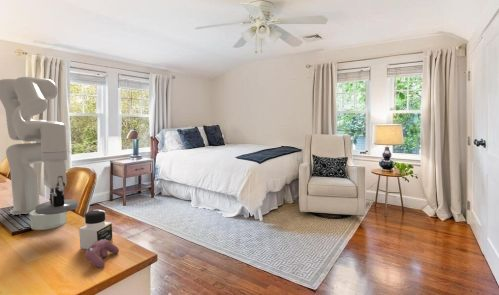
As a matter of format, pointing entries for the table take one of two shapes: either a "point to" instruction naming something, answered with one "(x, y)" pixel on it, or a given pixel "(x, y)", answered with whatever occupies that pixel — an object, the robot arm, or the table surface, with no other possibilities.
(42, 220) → the bowl
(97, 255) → the video game controller
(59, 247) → the table surface
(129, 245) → the table surface
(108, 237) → the medicine bottle
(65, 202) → the lid
